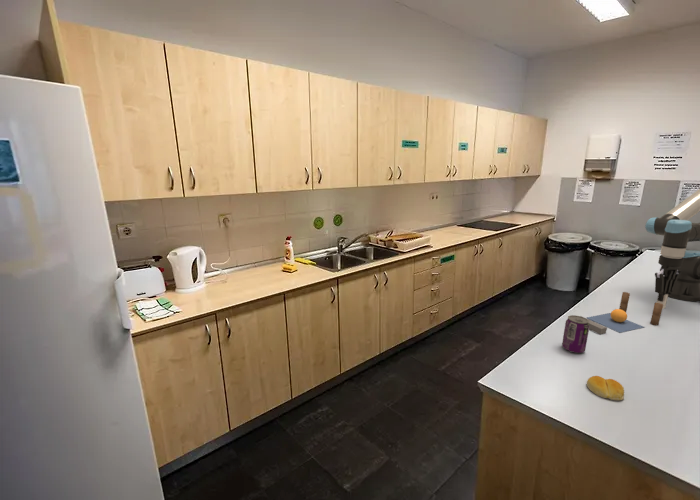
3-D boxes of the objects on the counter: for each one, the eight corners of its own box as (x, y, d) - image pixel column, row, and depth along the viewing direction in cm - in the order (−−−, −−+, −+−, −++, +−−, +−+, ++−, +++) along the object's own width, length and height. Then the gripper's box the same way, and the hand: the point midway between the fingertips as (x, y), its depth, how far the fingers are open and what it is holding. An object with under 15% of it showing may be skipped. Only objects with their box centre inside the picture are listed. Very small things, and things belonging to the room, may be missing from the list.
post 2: (652, 322, 141) (657, 302, 139) (660, 324, 139) (664, 304, 137) (648, 323, 141) (653, 303, 138) (655, 325, 138) (660, 305, 136)
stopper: (579, 321, 143) (580, 316, 142) (605, 333, 133) (606, 327, 132) (574, 322, 142) (575, 317, 141) (600, 334, 132) (601, 328, 131)
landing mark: (609, 313, 150) (609, 312, 150) (644, 327, 137) (644, 326, 137) (586, 318, 146) (586, 317, 146) (619, 332, 133) (619, 332, 133)
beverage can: (588, 355, 118) (594, 324, 115) (566, 353, 119) (571, 322, 116) (579, 345, 125) (584, 315, 122) (558, 343, 126) (563, 314, 123)
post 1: (621, 310, 153) (625, 291, 151) (627, 312, 151) (631, 293, 148) (617, 311, 152) (621, 292, 150) (623, 313, 150) (627, 294, 148)
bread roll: (585, 379, 106) (587, 368, 105) (621, 389, 101) (624, 377, 100) (586, 394, 99) (588, 382, 98) (625, 405, 94) (627, 393, 93)
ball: (606, 312, 143) (609, 321, 145) (619, 317, 138) (622, 327, 140) (615, 304, 143) (618, 313, 145) (629, 309, 138) (631, 319, 140)
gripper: (671, 252, 148) (660, 302, 154) (651, 255, 144) (640, 306, 150) (692, 256, 141) (680, 308, 147) (671, 260, 137) (660, 313, 143)
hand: (660, 307), depth 149 cm, fingers closed
